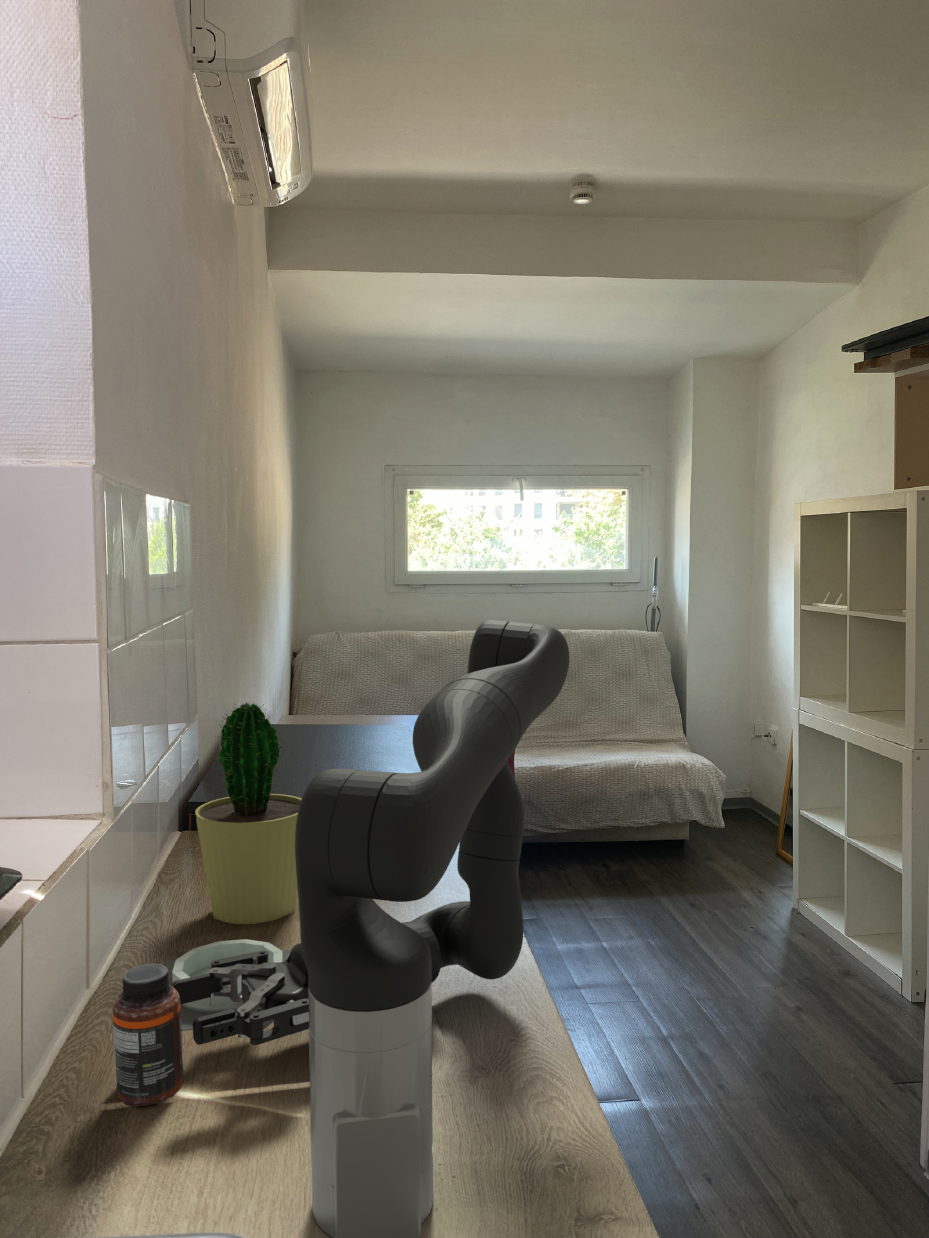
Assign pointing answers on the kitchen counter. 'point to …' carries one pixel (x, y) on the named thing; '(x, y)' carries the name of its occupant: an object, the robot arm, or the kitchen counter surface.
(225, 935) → the kitchen counter surface
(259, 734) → the potted cactus
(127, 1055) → the supplement bottle
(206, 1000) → the bowl
